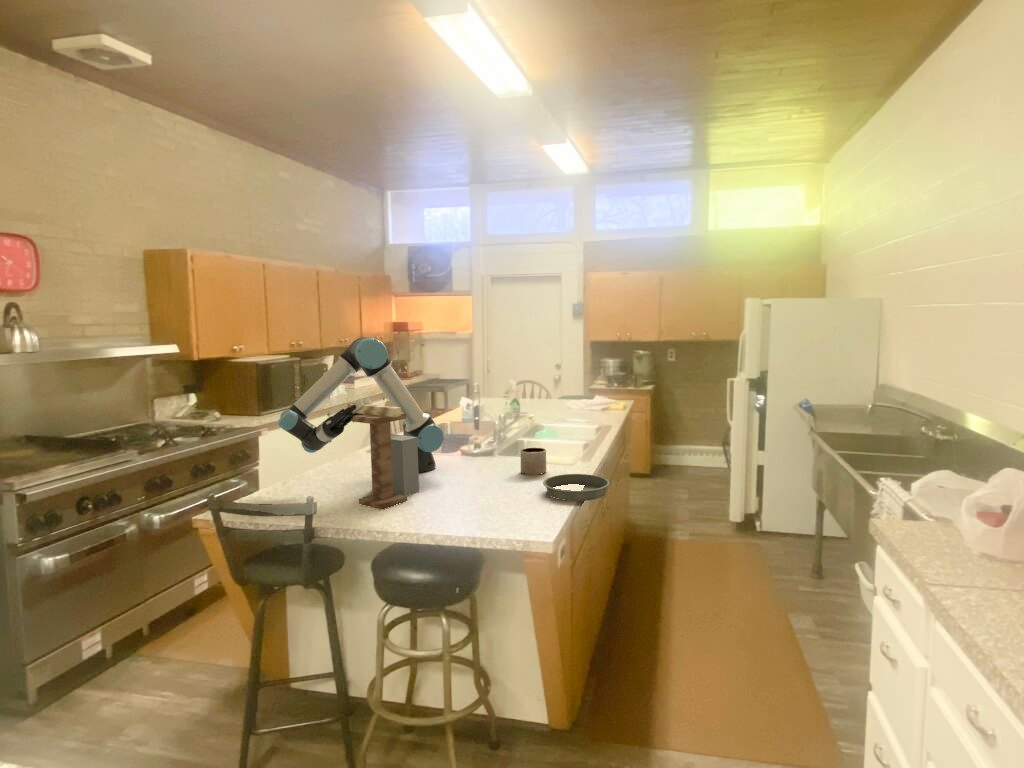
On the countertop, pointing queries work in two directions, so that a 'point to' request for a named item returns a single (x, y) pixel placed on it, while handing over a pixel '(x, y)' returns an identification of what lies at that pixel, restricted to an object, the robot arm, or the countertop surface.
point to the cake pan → (591, 490)
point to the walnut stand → (381, 461)
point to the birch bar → (379, 410)
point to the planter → (533, 460)
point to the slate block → (404, 464)
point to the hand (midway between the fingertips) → (365, 401)
